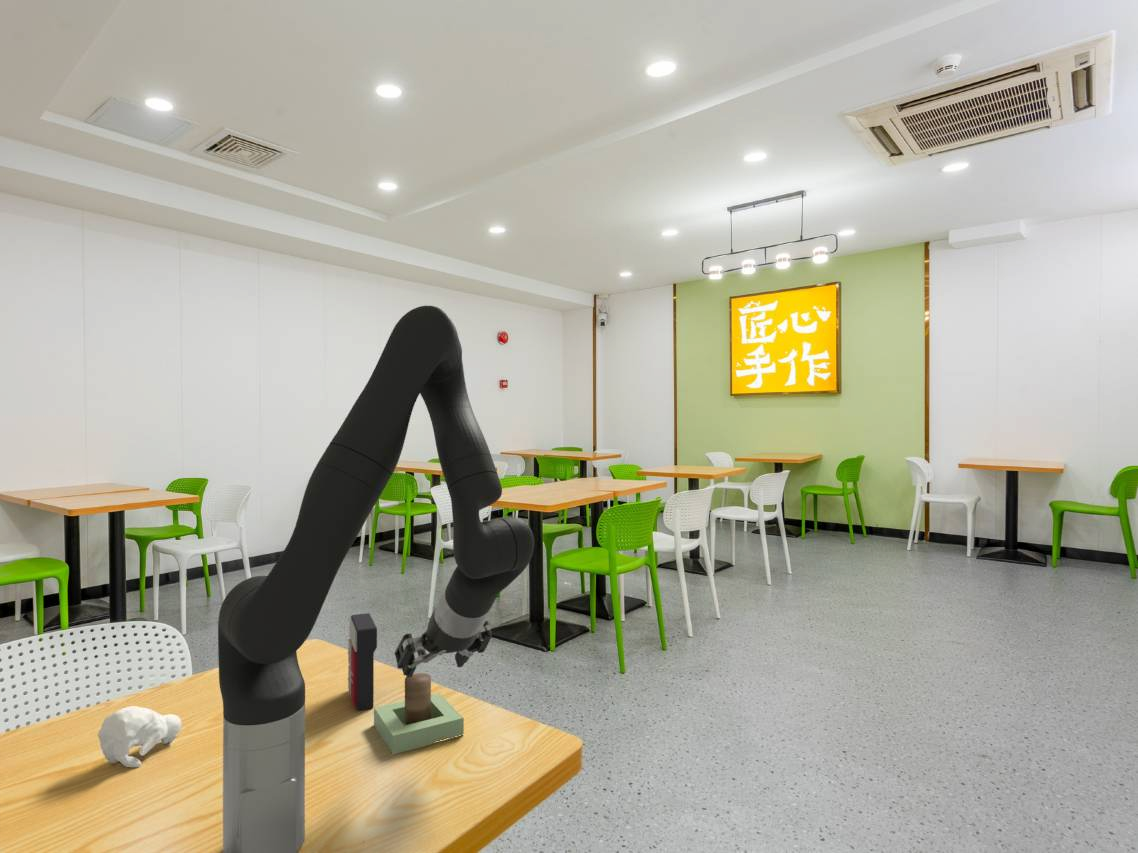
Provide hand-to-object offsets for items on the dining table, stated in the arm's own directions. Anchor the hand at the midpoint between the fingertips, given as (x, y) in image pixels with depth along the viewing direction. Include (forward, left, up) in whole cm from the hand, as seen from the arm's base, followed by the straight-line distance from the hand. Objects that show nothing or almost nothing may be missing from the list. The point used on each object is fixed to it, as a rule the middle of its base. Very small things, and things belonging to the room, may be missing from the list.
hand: (433, 667), depth 102 cm
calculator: (+26, +5, -14) cm, 30 cm away
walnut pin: (+8, 0, -14) cm, 16 cm away
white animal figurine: (+23, +40, -14) cm, 48 cm away
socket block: (+8, 0, -14) cm, 16 cm away
